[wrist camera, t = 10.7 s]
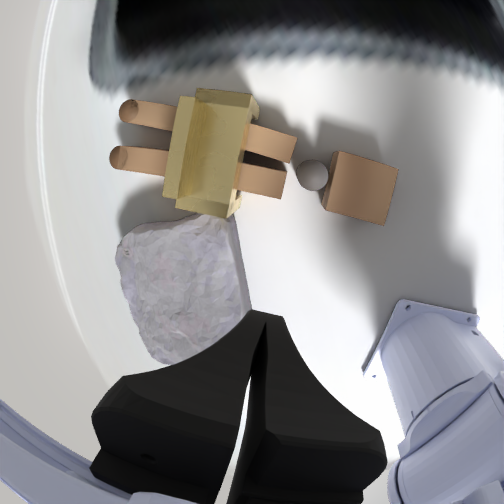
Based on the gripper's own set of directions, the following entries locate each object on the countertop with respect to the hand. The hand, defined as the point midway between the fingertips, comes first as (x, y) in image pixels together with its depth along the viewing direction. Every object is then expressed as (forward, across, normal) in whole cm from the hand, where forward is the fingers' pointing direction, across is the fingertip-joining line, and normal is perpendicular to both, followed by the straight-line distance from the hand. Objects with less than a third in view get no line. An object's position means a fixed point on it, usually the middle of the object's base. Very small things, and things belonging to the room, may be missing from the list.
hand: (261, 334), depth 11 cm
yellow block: (+10, +5, -6) cm, 12 cm away
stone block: (+10, +6, +4) cm, 13 cm away
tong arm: (+10, +6, -8) cm, 14 cm away
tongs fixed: (+10, +3, -6) cm, 12 cm away
